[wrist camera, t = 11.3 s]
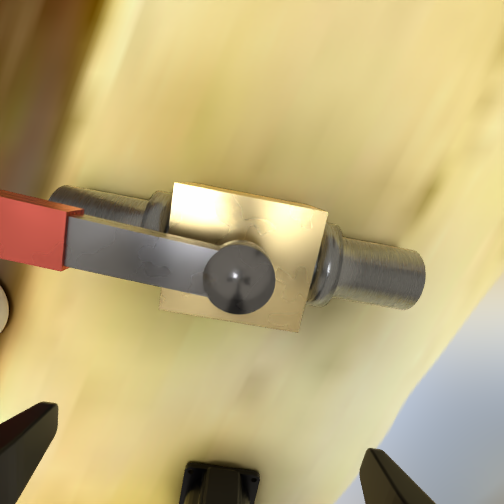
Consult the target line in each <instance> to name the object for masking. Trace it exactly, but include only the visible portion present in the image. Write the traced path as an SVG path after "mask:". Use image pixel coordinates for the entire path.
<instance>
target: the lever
mask: <svg viewBox="0 0 504 504" xmlns="http://www.w3.org/2000/svg"><path fill="white" fill-rule="evenodd" d="M0 258H1V259H6V260H11V261H15V262H20V263H25V264H29V265H34V266H39V267H43V268H48V269H52V270H57V271H63V270H65V269H67V268H69V267H71V268H75V269H80V270H85V271H89V272H94V273H98V274H103V275H108V276H112V277H117V278H121V279H126V280H131V281H135V282H140V283H144V284H149V285H154V286H158V287H163V288H168V289H172V290H177V291H181V292H186V293H191V294H195V295H200V296H204V297H208V299H209V300H210V301H211V303H212V304H213V305H214V306H216V307H217V308H218V309H220V310H222V311H224V312H227V313H230V314H236V315H242V314H248V313H252V312H254V311H256V310H258V309H260V308H261V307H263V306H264V305H265V304H266V303H267V302H268V301H269V299H270V298H271V296H272V294H273V292H274V289H275V282H276V278H275V272H274V268H273V265H272V262H271V259H270V258H269V256H268V254H267V253H266V252H265V251H264V249H262V248H261V247H260V246H258V245H257V244H255V243H253V242H250V241H246V240H233V241H229V242H226V243H224V244H222V245H221V246H219V245H215V244H211V243H207V242H202V241H198V240H194V239H189V238H185V237H181V236H176V235H172V234H168V233H163V232H159V231H155V230H150V229H146V228H142V227H137V226H133V225H129V224H124V223H120V222H116V221H111V220H107V219H103V218H98V217H94V216H90V215H85V214H84V209H82V208H78V207H73V206H69V205H65V204H60V203H56V202H52V201H48V200H43V199H39V198H35V197H30V196H26V195H22V194H17V193H13V192H9V191H5V190H0Z"/></svg>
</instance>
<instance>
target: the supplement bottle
mask: <svg viewBox="0 0 504 504" xmlns="http://www.w3.org/2000/svg"><path fill="white" fill-rule="evenodd" d="M8 315H9V306H8V301H7V297H6V295H5V293H4V291H3V289H2V287H1V286H0V333H1V331H2V330H3V329H4V327H5V325H6V323H7V320H8Z"/></svg>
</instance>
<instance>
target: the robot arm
mask: <svg viewBox="0 0 504 504" xmlns="http://www.w3.org/2000/svg"><path fill="white" fill-rule="evenodd" d="M57 427H58V405H57V404H56V403H51V402H40V403H38V404H36V405H34V406H32V407H30V408H29V409H27V410H25V411H23V412H21V413H19V414H18V415H16V416H14V417H12V418H10V419H9V420H7V421H5V422H3V423H1V424H0V504H15V503H16V502H17V500H18V498H19V497H20V495H21V493H22V492H23V490H24V488H25V487H26V485H27V483H28V481H29V480H30V478H31V476H32V475H33V473H34V471H35V469H36V468H37V466H38V464H39V462H40V461H41V459H42V457H43V455H44V454H45V452H46V450H47V449H48V447H49V445H50V443H51V442H52V440H53V438H54V436H55V434H56V431H57ZM259 481H260V476H259V473H258V472H256V471H251V470H243V469H236V468H228V467H221V466H213V465H206V464H198V463H188V464H187V465H186V468H185V473H184V478H183V484H182V490H181V496H180V502H179V504H254V501H255V497H256V493H257V489H258V485H259ZM360 481H361V485H362V490H363V494H364V499H365V503H366V504H435V502H434V501H432V500H431V498H430V497H429V496H428V495H427V494H426V493H425V492H424V491H422V489H421V488H420V487H418V485H417V484H416V483H415V482H414V481H413V480H412V479H411V478H410V477H409V476H408V475H407V474H406V473H405V472H404V471H403V470H402V469H401V468H400V467H399V466H398V465H397V464H396V463H395V462H394V461H393V460H392V459H391V458H390V457H389V456H388V455H387V454H386V453H385V452H384V451H383V450H380V449H374V448H368V449H367V451H366V453H365V456H364V459H363V461H362V464H361V467H360Z"/></svg>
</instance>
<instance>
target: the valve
mask: <svg viewBox="0 0 504 504" xmlns="http://www.w3.org/2000/svg"><path fill="white" fill-rule="evenodd" d="M49 201H52V202H56V203H60V204H65V205H69V206H73V207H78V208H82V209H84V214H85V215H90V216H94V217H98V218H103V219H107V220H111V221H116V222H120V223H124V224H129V225H133V226H137V227H142V228H146V229H150V230H155V231H159V232H163V233H168V234H172V235H176V236H181V237H185V238H189V239H194V240H198V241H202V242H207V243H211V244H215V245H219V246H221V245H222V244H224V243H226V242H229V241H233V240H246V241H250V242H253V243H255V244H257V245H258V246H260V247H261V248H262V249H264V251H265V252H266V253H267V254H268V256H269V258H270V259H271V262H272V265H273V268H274V272H275V278H276V282H275V289H274V292H273V294H272V296H271V298H270V299H269V301H268V302H267V303H266V304H265V305H264V306H263V307H261V308H260V309H258V310H256V311H254V312H252V313H248V314H242V315H236V314H230V313H227V312H224V311H222V310H220V309H218V308H217V307H216V306H214V305H213V304H212V303H211V301H210V300H209V299H208V297H204V296H200V295H195V294H191V293H186V292H181V291H177V290H172V289H168V288H163V287H161V295H160V303H159V310H164V311H170V312H176V313H182V314H188V315H194V316H200V317H206V318H213V319H219V320H225V321H231V322H237V323H243V324H249V325H255V326H261V327H267V328H273V329H279V330H285V331H291V332H297V333H298V332H299V328H300V324H301V320H302V316H303V312H304V308H305V304H308V305H313V306H319V307H323V306H325V305H326V304H327V303H328V302H329V301H330V299H331V298H338V299H343V300H349V301H355V302H360V303H366V304H372V305H378V306H383V307H389V308H395V309H401V310H405V309H409V308H410V307H412V306H413V305H414V304H415V303H416V302H417V301H418V299H419V298H420V296H421V294H422V291H423V288H424V284H425V265H424V262H423V260H422V258H421V256H420V255H419V254H418V253H417V252H416V251H413V250H409V249H404V248H398V247H393V246H388V245H383V244H377V243H372V242H367V241H361V240H356V239H351V238H345V237H343V236H342V232H341V229H340V228H339V226H338V225H335V224H330V223H326V221H327V217H328V213H329V212H326V211H323V210H321V209H318V208H315V207H312V206H310V205H306V204H301V203H296V202H290V201H285V200H280V199H275V198H270V197H265V196H260V195H254V194H249V193H244V192H239V191H234V190H229V189H224V188H218V187H213V186H208V185H203V184H198V183H174V189H173V193H168V192H163V191H157V192H155V193H154V194H153V195H152V197H151V198H150V200H144V199H139V198H133V197H128V196H123V195H117V194H112V193H107V192H101V191H96V190H91V189H85V188H80V187H75V186H69V185H65V186H62V187H60V188H58V189H57V190H56V191H55V192H54V193H53V194H52V195H51V197H50V199H49Z"/></svg>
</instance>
